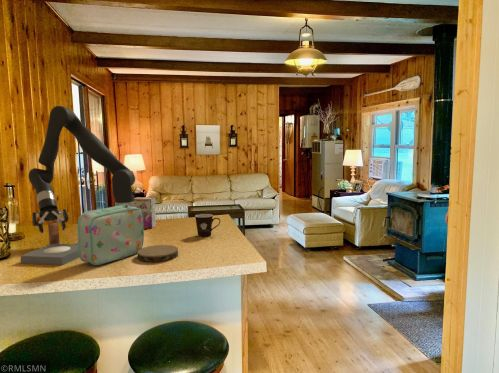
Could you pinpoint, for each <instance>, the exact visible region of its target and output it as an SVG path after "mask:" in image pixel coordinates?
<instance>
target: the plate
mask: <svg viewBox="0 0 499 373" xmlns="http://www.w3.org/2000/svg"><path fill="white" fill-rule="evenodd" d="M47 245H48V244H47ZM47 245H45V246H43V247H40V248H38V249H34V250H31V251H29V252H26V253H24V254H22V255H21V254H20V264H27V265H29V264H31V265H32V264H33V265H49V266H50V265H52V266H53V265H54V266H64V265H66V264H68V263H70V262H72V261H74V260H76V259H80V257H79V254H78V243H77V244H74V243H73V244H72V243H63V244H50V245H48V246H47Z"/></svg>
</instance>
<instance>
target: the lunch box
mask: <svg viewBox="0 0 499 373" xmlns="http://www.w3.org/2000/svg"><path fill="white" fill-rule="evenodd" d="M144 229H145V228H144V218H143V212H142V210H141V209H139V208H136V207H131V206H128V204H122V205H119V206H115V205H114V206H109V207H106V208H99V209H93V210H92V209H91V210H87V211H84V212H83V213H81V215H79V218H78V219H77V244H78V254H79V260H81V262H83V263H84V262H85V263H89V264H91V265H93V266H102V265H104V264H107V263H110V262H114V261H116V260H117V261H118V260H123V259H125V258H127V257H130V256H133V255H136V254H138V250H140V249H142V248H143V246H144V236H145V235H144V234H145V233H144V232H145V230H144Z"/></svg>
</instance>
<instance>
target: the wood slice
mask: <svg viewBox="0 0 499 373" xmlns="http://www.w3.org/2000/svg"><path fill="white" fill-rule="evenodd" d="M178 257H179V250H178V247H177V246H176V245H171V244H155V245H154V244H153V245H150V246H146V247H145V246H144V247H142V249H140V250H138V253H137V260H138V261H139V262H142V263H148V264H150V263H151V264H152V263H153V264H155V263H156V264H157V263H158V264H159V263H165V262H169V261H172V260H174V259H176V258H178Z"/></svg>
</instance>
